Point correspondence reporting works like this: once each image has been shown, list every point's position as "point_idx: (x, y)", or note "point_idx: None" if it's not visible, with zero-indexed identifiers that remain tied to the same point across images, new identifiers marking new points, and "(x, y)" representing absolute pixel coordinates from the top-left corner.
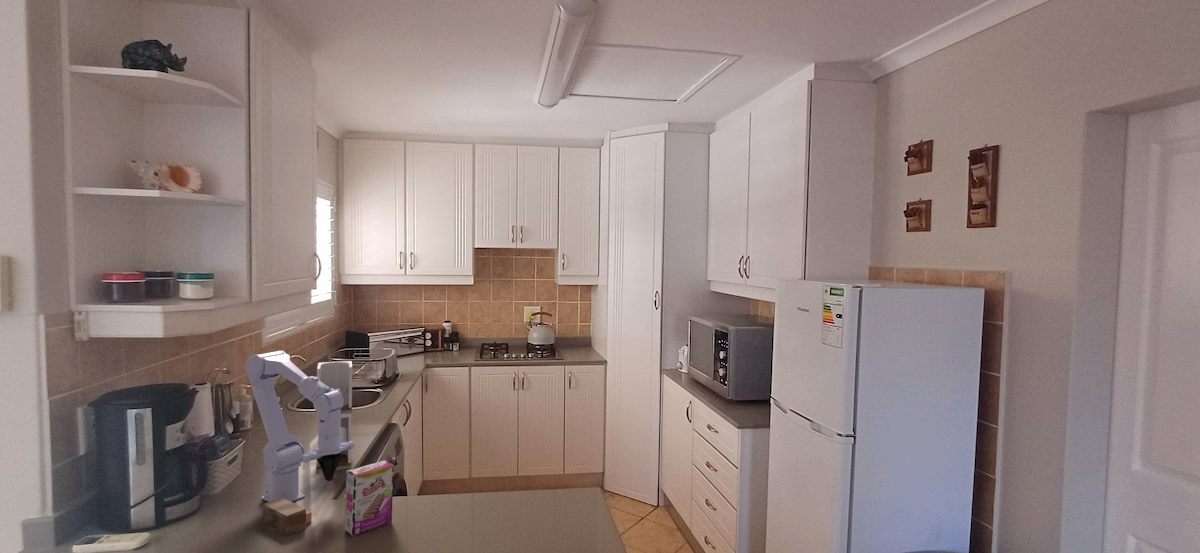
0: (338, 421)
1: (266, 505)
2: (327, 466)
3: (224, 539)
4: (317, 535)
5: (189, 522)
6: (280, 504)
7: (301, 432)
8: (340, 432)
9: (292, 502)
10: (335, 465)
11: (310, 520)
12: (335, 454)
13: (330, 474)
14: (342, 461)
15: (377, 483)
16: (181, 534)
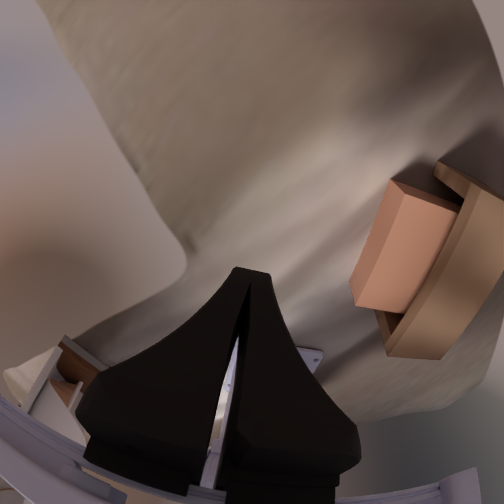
0: None
1: (451, 344)
2: (312, 379)
3: (492, 314)
4: (462, 78)
5: (417, 405)
6: (446, 317)
7: None
8: None
9: (428, 295)
10: (201, 342)
11: (395, 182)
12: (141, 459)
13: (260, 300)
14: (71, 363)
15: None
16: (461, 382)
